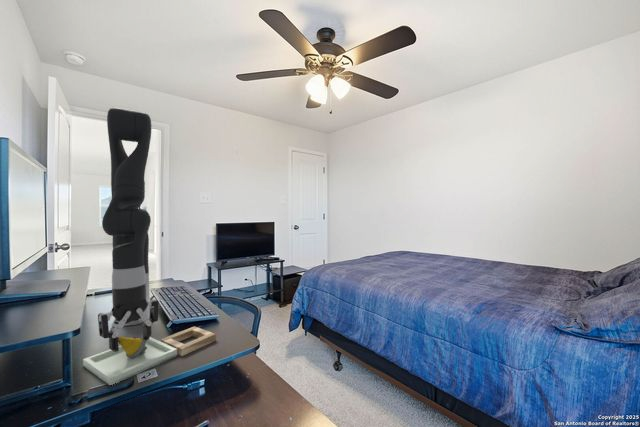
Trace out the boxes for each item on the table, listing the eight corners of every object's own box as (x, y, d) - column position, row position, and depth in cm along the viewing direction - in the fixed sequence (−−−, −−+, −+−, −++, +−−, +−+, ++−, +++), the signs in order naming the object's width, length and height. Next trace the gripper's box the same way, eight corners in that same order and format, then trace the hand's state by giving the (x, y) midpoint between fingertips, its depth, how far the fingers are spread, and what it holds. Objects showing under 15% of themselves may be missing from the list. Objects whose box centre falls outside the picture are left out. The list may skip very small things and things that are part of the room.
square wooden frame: (160, 346, 85) (160, 339, 85) (194, 332, 94) (194, 326, 94) (182, 356, 79) (181, 349, 79) (215, 340, 88) (215, 333, 88)
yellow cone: (149, 359, 78) (118, 343, 72) (134, 365, 79) (102, 350, 73) (156, 340, 82) (127, 324, 76) (141, 346, 83) (112, 330, 77)
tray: (83, 366, 75) (83, 359, 75) (147, 341, 88) (147, 335, 88) (110, 386, 66) (110, 378, 66) (177, 355, 80) (177, 349, 80)
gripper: (150, 276, 85) (151, 331, 85) (91, 288, 73) (93, 352, 73) (163, 279, 81) (165, 337, 81) (103, 292, 69) (106, 361, 69)
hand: (131, 344), depth 77 cm, fingers closed on yellow cone, 7 cm apart
